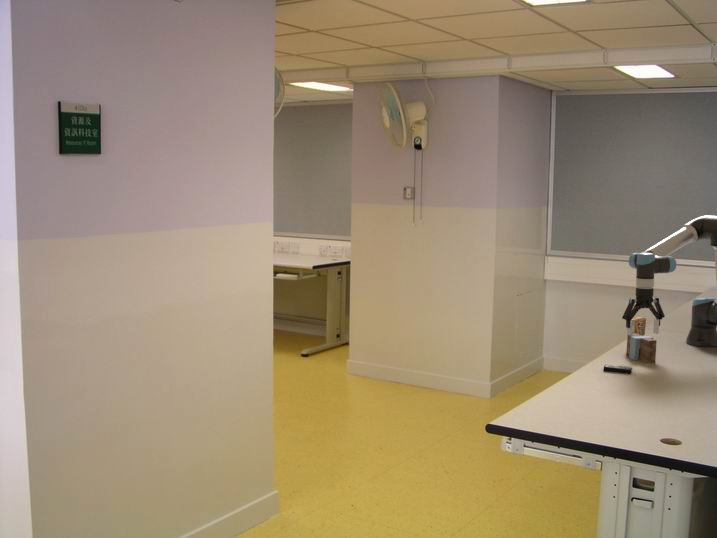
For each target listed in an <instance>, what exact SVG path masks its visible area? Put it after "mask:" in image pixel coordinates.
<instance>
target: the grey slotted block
mask: <svg viewBox="0 0 717 538" xmlns="http://www.w3.org/2000/svg"><path fill="white" fill-rule="evenodd" d="M641 338H651V339H654V337H653V336H649V335H645V336H631V339H630V356H628V357H629V360H630V359H631V360H634V361H639V360H638V359H639V349H641Z"/></svg>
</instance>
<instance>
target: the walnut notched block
mask: <svg viewBox="0 0 717 538" xmlns="http://www.w3.org/2000/svg"><path fill="white" fill-rule="evenodd" d="M627 336H628V337H627V338H626V356H628V357H629V356H630V339H631V336H630V335H627ZM632 336H642V335H639V334H636V333H632ZM657 341H658V340H656V339H654V338H653V339H651V338H641V349H639V359H638V360H637V361H641V362H644V363H646V364H652V363H653V364H654V363H656V359H657V357H656V356H657V343H658V342H657Z"/></svg>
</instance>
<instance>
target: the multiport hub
mask: <svg viewBox="0 0 717 538" xmlns="http://www.w3.org/2000/svg"><path fill="white" fill-rule="evenodd" d="M632 370H633V367H629V366H622V365H620V366H619V365H613V364H612V365H611V364H605V365H604V366H603V372H607V373H615V374H616V373H617V374H625V375H631V374H632V372H633V371H632Z"/></svg>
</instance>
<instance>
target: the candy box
mask: <svg viewBox="0 0 717 538" xmlns="http://www.w3.org/2000/svg"><path fill="white" fill-rule="evenodd" d="M646 320H647V318H645V317H640V316H637V317H633V318H632V320H631V321H633V323H632V333H636V334H639V335H642V336H646V323H647V321H646ZM627 337H628V335H627Z"/></svg>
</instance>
